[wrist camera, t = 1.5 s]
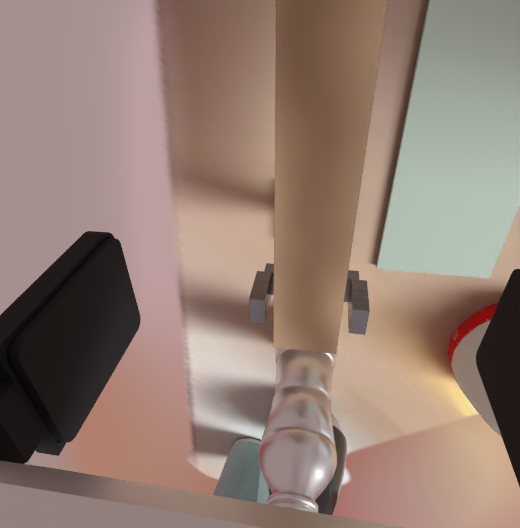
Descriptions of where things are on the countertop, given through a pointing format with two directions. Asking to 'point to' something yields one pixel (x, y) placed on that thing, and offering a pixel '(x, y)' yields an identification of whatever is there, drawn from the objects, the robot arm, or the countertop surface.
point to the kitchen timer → (472, 362)
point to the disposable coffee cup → (243, 473)
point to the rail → (319, 159)
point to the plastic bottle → (299, 430)
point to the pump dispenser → (332, 490)
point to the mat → (458, 143)
